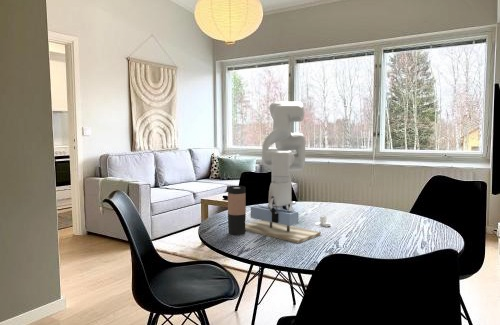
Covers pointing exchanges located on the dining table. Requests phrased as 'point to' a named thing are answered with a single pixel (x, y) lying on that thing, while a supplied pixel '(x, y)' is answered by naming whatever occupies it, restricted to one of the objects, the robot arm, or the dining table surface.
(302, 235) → the board
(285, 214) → the blue slotted peg holder
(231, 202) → the travel mug
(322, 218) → the white curved piece
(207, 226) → the dining table surface
